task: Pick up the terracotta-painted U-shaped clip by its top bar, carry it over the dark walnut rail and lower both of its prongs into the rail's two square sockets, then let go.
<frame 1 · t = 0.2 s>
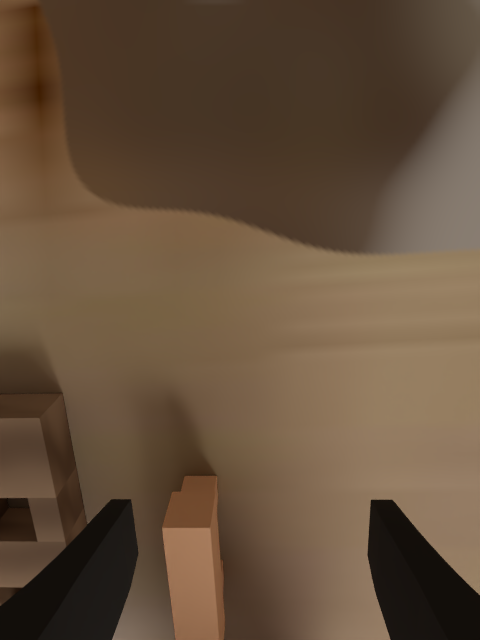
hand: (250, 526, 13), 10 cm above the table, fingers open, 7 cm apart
rail: (38, 529, 26), on the table
clip: (205, 529, 25), on the table
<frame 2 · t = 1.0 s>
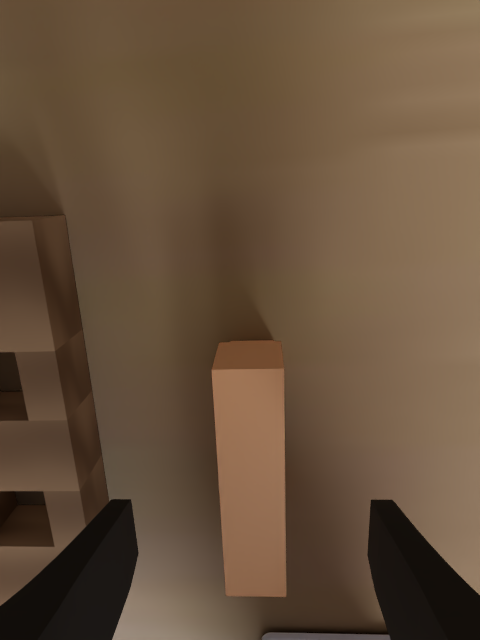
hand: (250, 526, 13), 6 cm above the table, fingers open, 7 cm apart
rail: (31, 423, 20), on the table
clip: (254, 421, 19), on the table
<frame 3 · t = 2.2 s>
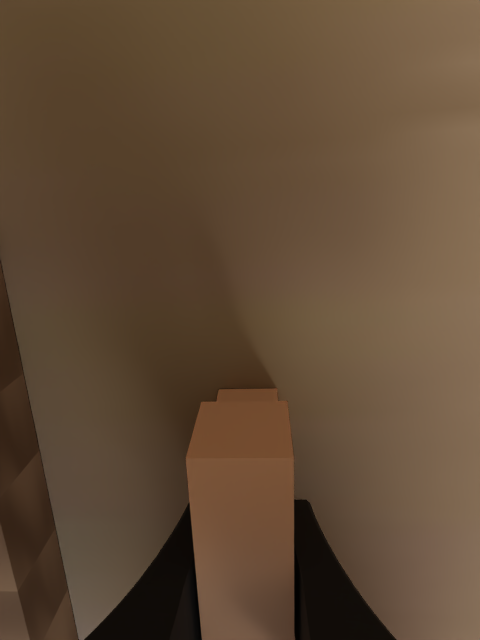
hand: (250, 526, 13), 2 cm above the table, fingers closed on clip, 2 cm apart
clip: (251, 490, 15), on the table, touching gripper
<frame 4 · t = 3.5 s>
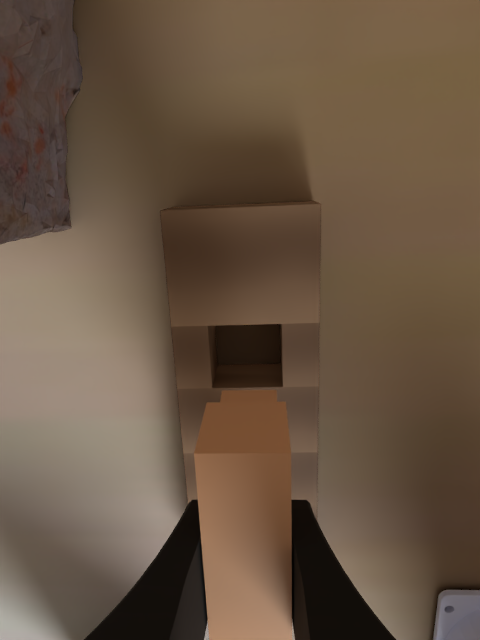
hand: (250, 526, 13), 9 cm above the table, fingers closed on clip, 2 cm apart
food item: (9, 62, 18), on the table
rail: (250, 394, 21), on the table
clip: (252, 484, 16), point 6 cm above the table, touching gripper
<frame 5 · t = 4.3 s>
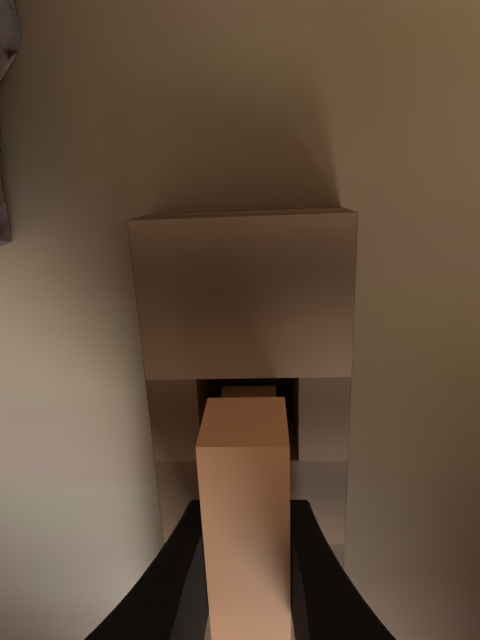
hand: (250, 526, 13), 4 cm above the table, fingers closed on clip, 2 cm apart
rail: (253, 456, 16), on the table
clip: (252, 478, 16), point 1 cm above the table, touching gripper
when the fingers open (3 cm above the table, at t = 4.6 s): clip stays where it is, resting on rail.
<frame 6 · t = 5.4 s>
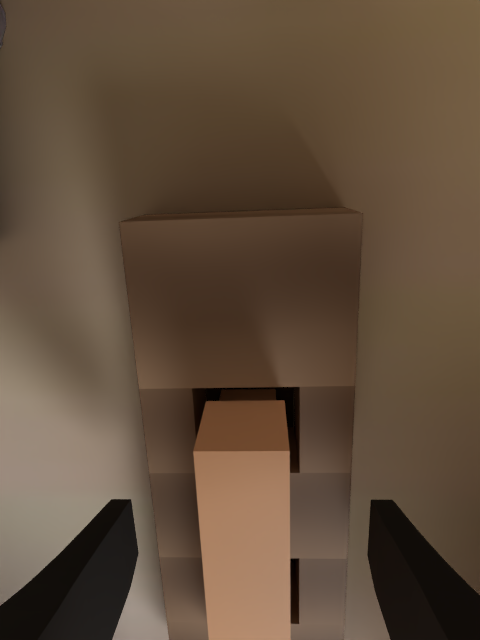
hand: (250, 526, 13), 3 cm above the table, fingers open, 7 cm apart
rail: (252, 466, 16), on the table
clip: (251, 483, 16), resting on rail
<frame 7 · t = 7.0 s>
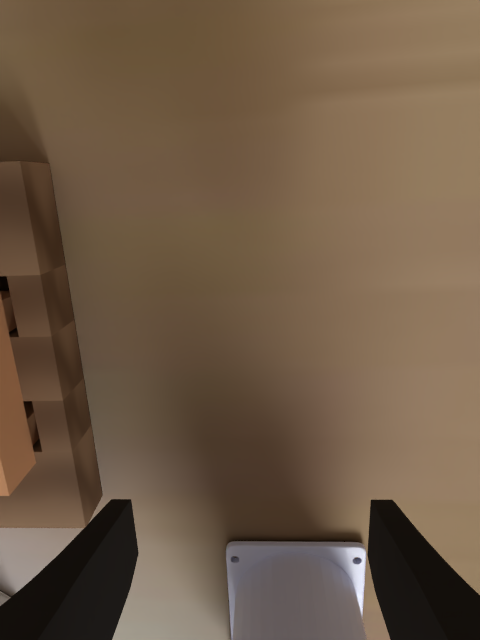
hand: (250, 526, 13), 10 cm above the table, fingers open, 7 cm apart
rail: (22, 350, 23), on the table
clip: (20, 361, 22), resting on rail
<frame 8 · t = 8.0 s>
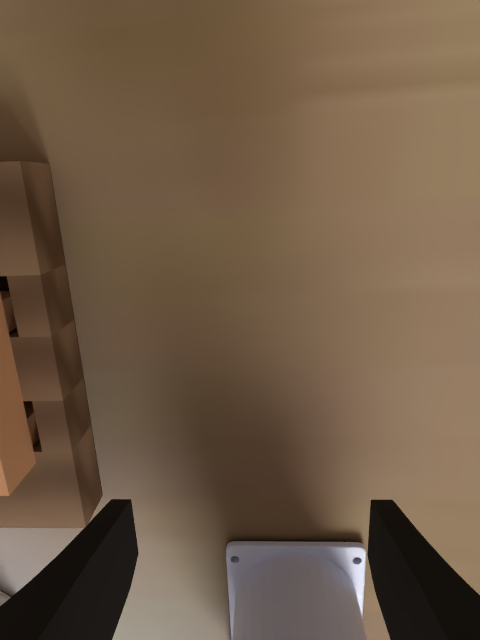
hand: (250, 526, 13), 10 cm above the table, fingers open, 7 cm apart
rail: (22, 350, 23), on the table
clip: (20, 361, 22), resting on rail
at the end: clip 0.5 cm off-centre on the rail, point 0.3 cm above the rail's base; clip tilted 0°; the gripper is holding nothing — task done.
